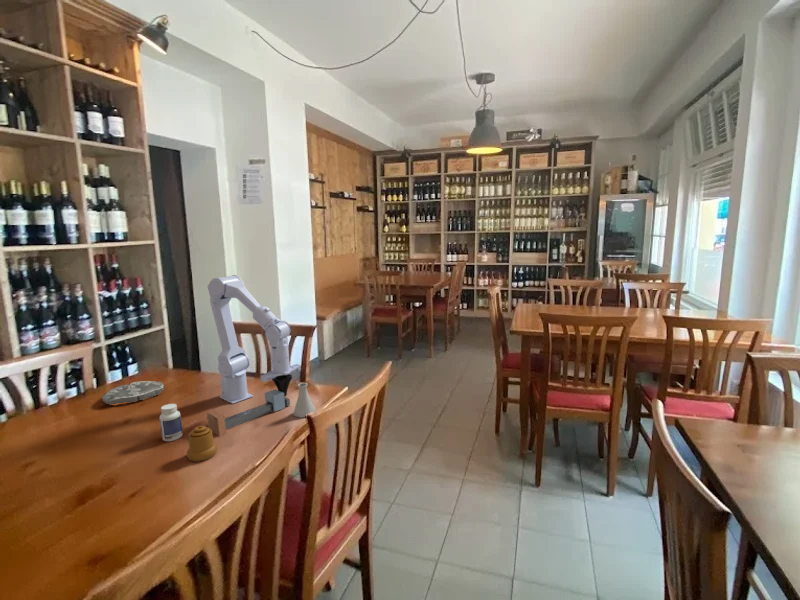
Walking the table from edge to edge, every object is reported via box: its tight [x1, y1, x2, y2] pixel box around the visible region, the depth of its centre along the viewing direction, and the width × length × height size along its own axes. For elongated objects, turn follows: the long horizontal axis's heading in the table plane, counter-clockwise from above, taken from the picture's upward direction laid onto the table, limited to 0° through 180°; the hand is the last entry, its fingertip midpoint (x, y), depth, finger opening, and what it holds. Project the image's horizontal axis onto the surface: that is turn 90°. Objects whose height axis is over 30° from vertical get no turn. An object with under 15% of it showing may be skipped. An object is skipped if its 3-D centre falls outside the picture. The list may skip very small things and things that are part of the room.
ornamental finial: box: [186, 425, 218, 462], centre depth 113 cm, size 8×8×8 cm
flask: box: [293, 382, 316, 418], centre depth 137 cm, size 7×7×10 cm
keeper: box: [264, 389, 286, 413], centre depth 142 cm, size 5×4×5 cm
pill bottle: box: [159, 403, 184, 442], centre depth 123 cm, size 5×5×10 cm
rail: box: [206, 396, 291, 437], centre depth 135 cm, size 7×26×6 cm, turn 140°
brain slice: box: [100, 380, 165, 406], centre depth 156 cm, size 20×17×3 cm
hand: (283, 395), depth 144 cm, fingers closed
